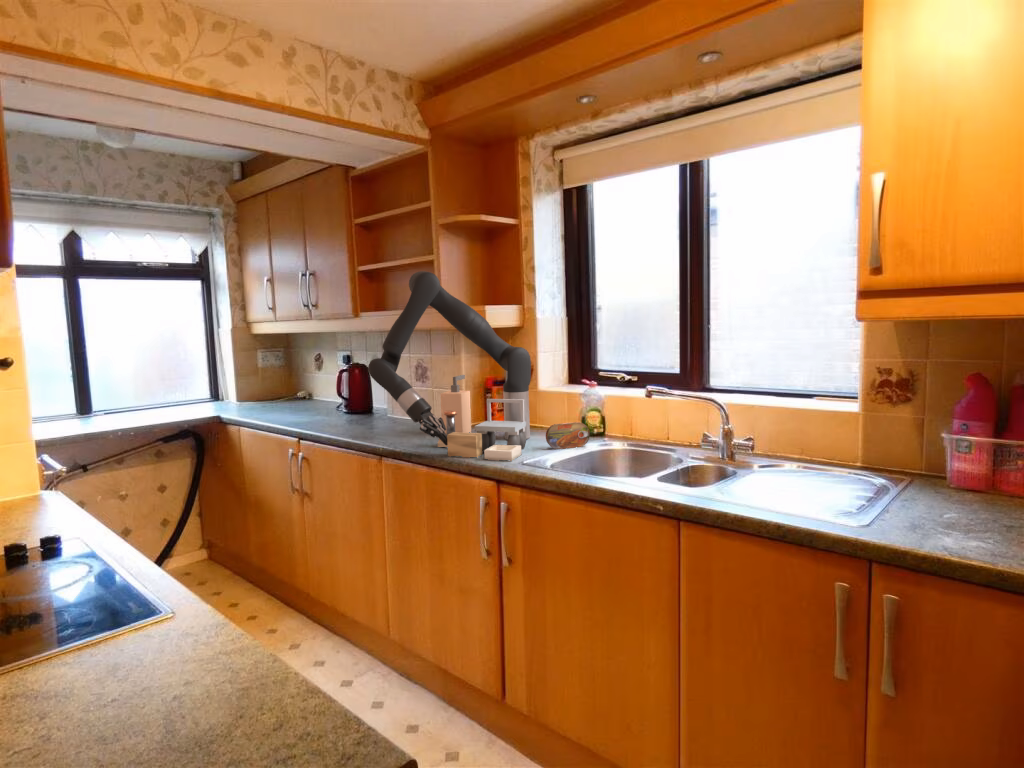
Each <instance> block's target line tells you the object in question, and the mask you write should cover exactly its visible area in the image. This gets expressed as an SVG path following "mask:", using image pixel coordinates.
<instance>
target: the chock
mask: <svg viewBox="0 0 1024 768" xmlns="http://www.w3.org/2000/svg"><path fill="white" fill-rule="evenodd" d="M447 442H448V448H447V457H451V456H462V457H461V458H470V457H477V458H479V457H481V456H483V451H482V433H477V432H470V433H459V432H453V433H450V434H448V435H447ZM480 455H481V456H480ZM478 456H479V457H478Z"/></svg>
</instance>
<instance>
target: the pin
mask: <svg viewBox="0 0 1024 768" xmlns="http://www.w3.org/2000/svg"><path fill="white" fill-rule="evenodd" d="M444 415H446V429H447V435H448V434H450V433H453V432H455V415H457V411H445V412H444Z"/></svg>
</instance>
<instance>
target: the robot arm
mask: <svg viewBox="0 0 1024 768" xmlns="http://www.w3.org/2000/svg"><path fill="white" fill-rule="evenodd" d="M408 287H409V291H410V292H411V293H410V295H409V299H408V301H407V303H406V305H405V307H404V309H403V310H402V312H401V313H400V315H399V316H398V317H397V319H396V320H395V321H394V323H393V324H392V325H391V327H390V330H389V331H388V333H387V335H386V338H385V339H384V341H383V343H382V346H381V347H382V350H383V352H382V355H381V357H377V358H373V359H372V360H371V361H370V362H369V364H368V366H367V367H368V368H367V371H368V374H369V376H370V377H371V378H372V379H373V380H374V381H375V382H376V384H378V385H379V386H380V387H381V388H383V389H384V390H385V391H386V392H388V394H389V395H390V396H391V397H392V398H393V400H394V401H395V402H396V403H397V404H398V405H399V407H400V408H401V410H403V412H404V414H406V415H407V416H408V417H409V419H411V421H413V423H419V425H420V426H419V430H420V431H422V432H424V433H425V434H427V435H428V436H431V437H432V438H435V437H436V438H437V439H438V440H439V439H440V440H441V441H442V442H443V443H444V444H445V445H448V442H447V434H446V433H445V430H446V427H445V424H444V422H443V419H442V416H441V417H438V418H437V417H436V415H435V414H433V413H432V412H431V410H432V405H430V403H429V402H428V401H427V400H426V399H425V398H424V397H423V396H422V395H421V393H419V392H418V390H416V389H415V388H414V387H413V386H412V385H411V384H410V383H409V382H408V381H407V380H406V379H405V378H404V377H402V376H400V375H399V374H398V373H397V371H398V367H399V364H400V361H401V357H402V355H403V352H404V350H405V349H406V346H407V345H408V343H409V340H410V339H411V337H412V335H413V332H414V331H415V329H416V327H417V325H418V324H419V322H420V320H421V318H422V316H423V315H424V313H425V312H426V310H427V308H429V306H430V307H432V308H433V310H436V312H438V313H439V314H440V315H441V316H442V317H443V318H444V319H445V320H446V321H447V322H448V323H449V324H450V325H451V326H453V327H454V329H456V330H457V331H458V332H459V333H461V335H463V336H464V337H465V338H467V339H468V340H469V341H471V342H472V343H473V344H475V345H476V346H477V347H478V348H480V349H481V350H483V351H485V353H486V354H488V356H489V357H491V358H492V359H493V360H494V361H495V362H496V363H497V364H498V365H499V366H500V367H501V368H502V369H503V370H504V371H506V372H507V374H506V375H507V376H506V381H505V382H504V383H503V385H502V387H503V389H502V392H503V393H502V394H503V395H502V396H503V397H502V398H503V399H524V422H526V427H525V431H524V432H525V434H526V440H527V439H530V438H531V432H530V431H531V430H530V429H531V428H530V427H531V426H530V422H531V421H530V396H529V395H530V391H529V388H530V385H531V381H532V380H531V378H532V377H531V376H532V373H531V372H532V363H531V355H530V353H529V351H528V350H527V349H526V348H525V347H521V346H513V345H511V344H509V343H507V342H506V341H505V340H503V338H501V337H500V336H499V335H498V334H497V333H496V332H495V330H494V329H493V328H492V327H493V326H491V324H490V323H489V321H488V320H487V319H486V318H485V317H483V316H482V315H481V314H480V313H479V312H477V311H476V310H475V309H474V308H472V307H471V306H469V304H467V303H465V302H463V301H462V300H460V299H459V298H456V297H455V296H454V295H452V294H451V293H450V292H448V291H447V290H446V289H445V288H444V287H443V286H441V282H440V279H439V277H438V276H437V275H436V274H435V273H432V272H430V271H426V270H421V271H420V270H419V271H416V272H415V273H413V274H412V275H411V276H410V277H409V281H408ZM503 421H521V415H520V403H505V402H503ZM508 436H509V435H508V432H504V439H505V440H508Z"/></svg>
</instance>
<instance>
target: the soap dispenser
mask: <svg viewBox="0 0 1024 768" xmlns="http://www.w3.org/2000/svg"><path fill="white" fill-rule="evenodd" d="M465 379H466V374H461V375H456V376H453V377H452V385H450V390H447V391H443V392H441V393H440V411H441V418H442V419H443V422H444V424H445V427H446V415H444V412H445V411H457V415H455V432H459V433H469V432H470V433H472V417H471V416H472V415H471V413H472V412H471V411H472V410H471V409H472V408H471V390H460V388H461V387H460V385H459V384H458V381H461V380H465ZM445 433H446V434H447V429H446V430H445Z"/></svg>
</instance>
